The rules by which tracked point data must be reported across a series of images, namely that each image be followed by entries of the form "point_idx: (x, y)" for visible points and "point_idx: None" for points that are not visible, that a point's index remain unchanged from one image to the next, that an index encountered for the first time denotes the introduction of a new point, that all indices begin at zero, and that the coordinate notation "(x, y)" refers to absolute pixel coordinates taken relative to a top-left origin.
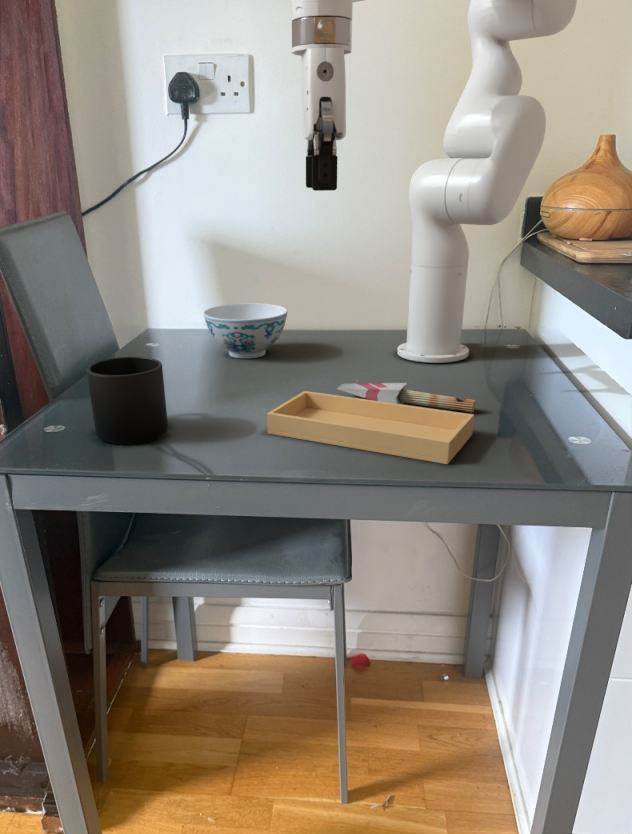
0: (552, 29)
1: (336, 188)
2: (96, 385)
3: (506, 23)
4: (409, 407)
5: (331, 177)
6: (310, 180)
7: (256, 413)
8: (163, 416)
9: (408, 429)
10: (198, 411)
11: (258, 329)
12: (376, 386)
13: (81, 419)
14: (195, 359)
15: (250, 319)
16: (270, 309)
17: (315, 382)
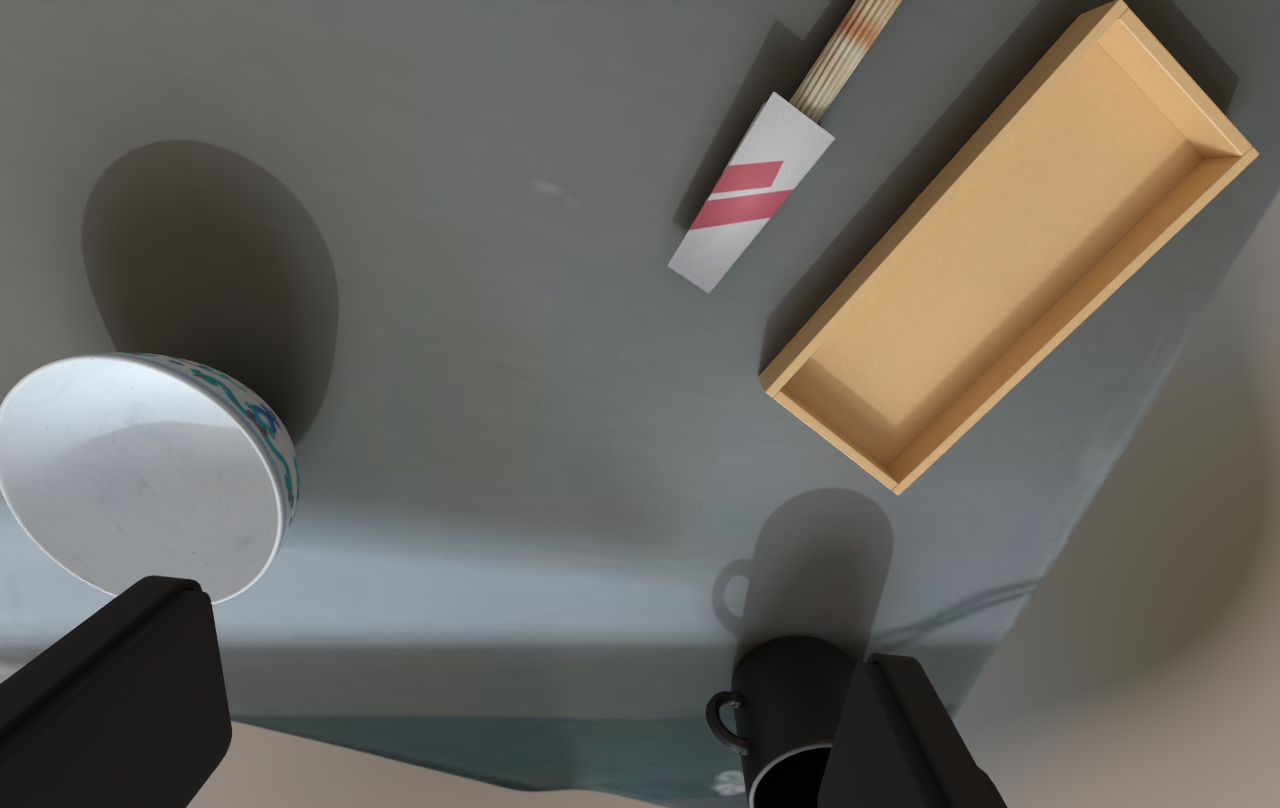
0: None
1: (915, 659)
2: None
3: None
4: (985, 163)
5: (997, 797)
6: (192, 771)
7: (750, 478)
8: (835, 665)
9: (1009, 181)
10: (704, 580)
11: (285, 456)
12: (754, 188)
13: (694, 752)
14: (288, 560)
15: (276, 494)
16: (31, 393)
17: (542, 306)
